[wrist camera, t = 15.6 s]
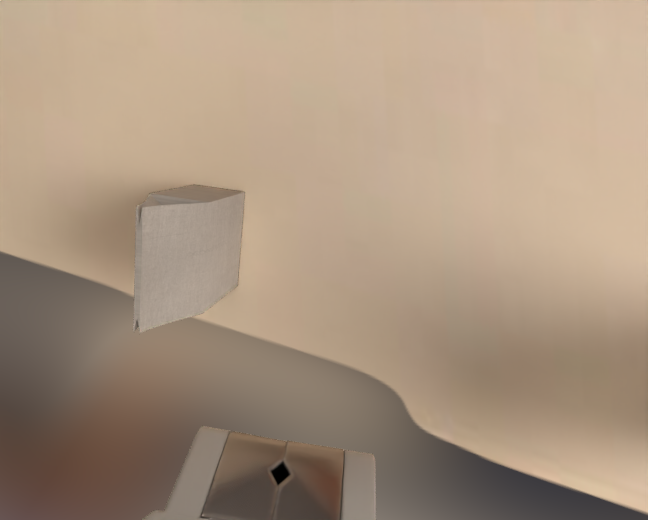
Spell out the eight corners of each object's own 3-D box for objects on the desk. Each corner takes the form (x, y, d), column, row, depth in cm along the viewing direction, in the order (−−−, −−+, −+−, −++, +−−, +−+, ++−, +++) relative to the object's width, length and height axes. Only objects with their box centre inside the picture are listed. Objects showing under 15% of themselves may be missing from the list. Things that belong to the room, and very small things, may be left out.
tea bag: (245, 192, 33) (175, 212, 24) (237, 285, 35) (169, 339, 26) (194, 184, 34) (106, 201, 24) (189, 276, 36) (105, 326, 26)
